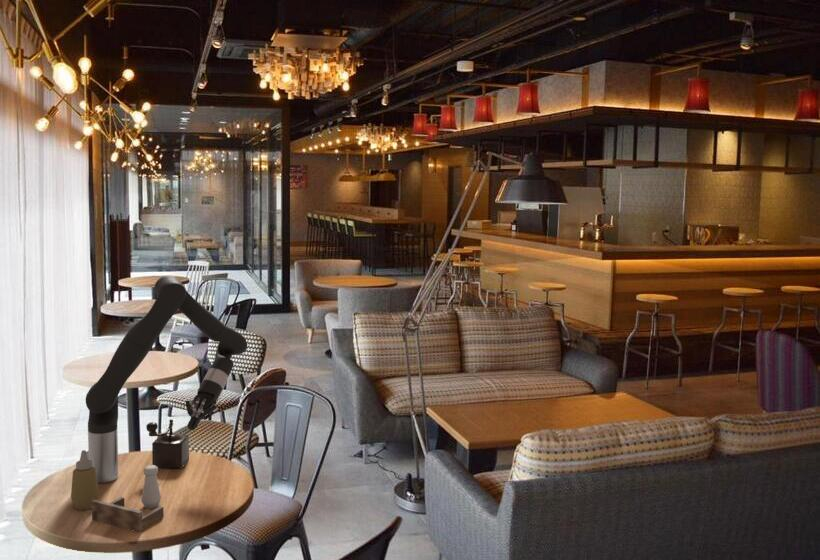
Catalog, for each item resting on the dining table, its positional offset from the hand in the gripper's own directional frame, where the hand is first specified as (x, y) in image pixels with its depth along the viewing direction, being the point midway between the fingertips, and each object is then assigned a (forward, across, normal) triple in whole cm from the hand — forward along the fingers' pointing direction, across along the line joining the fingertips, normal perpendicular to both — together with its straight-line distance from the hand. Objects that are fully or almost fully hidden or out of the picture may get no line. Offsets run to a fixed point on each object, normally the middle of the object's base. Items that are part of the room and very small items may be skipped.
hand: (190, 428), depth 249 cm
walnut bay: (+34, 0, -7) cm, 35 cm away
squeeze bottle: (+34, -18, -6) cm, 39 cm away
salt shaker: (+28, 0, 0) cm, 28 cm away
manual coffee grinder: (+8, -17, +20) cm, 27 cm away
